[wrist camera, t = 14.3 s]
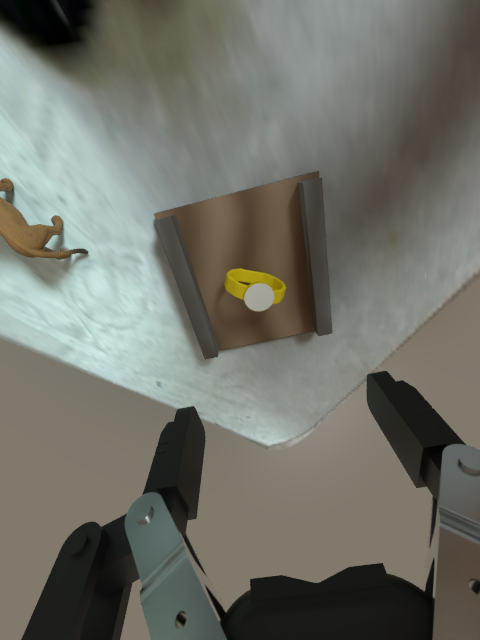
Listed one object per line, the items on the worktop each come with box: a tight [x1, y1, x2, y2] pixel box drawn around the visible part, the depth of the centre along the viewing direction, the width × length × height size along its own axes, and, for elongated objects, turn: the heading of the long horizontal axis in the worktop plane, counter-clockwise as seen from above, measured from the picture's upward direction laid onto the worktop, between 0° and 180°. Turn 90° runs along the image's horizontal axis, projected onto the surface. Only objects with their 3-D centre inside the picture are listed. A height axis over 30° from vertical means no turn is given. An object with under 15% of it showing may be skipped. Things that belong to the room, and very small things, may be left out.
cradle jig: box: [154, 171, 332, 359], centre depth 28 cm, size 16×17×3 cm
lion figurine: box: [0, 178, 88, 259], centre depth 22 cm, size 12×4×7 cm, turn 54°
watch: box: [224, 268, 286, 311], centre depth 25 cm, size 6×3×6 cm, turn 78°
